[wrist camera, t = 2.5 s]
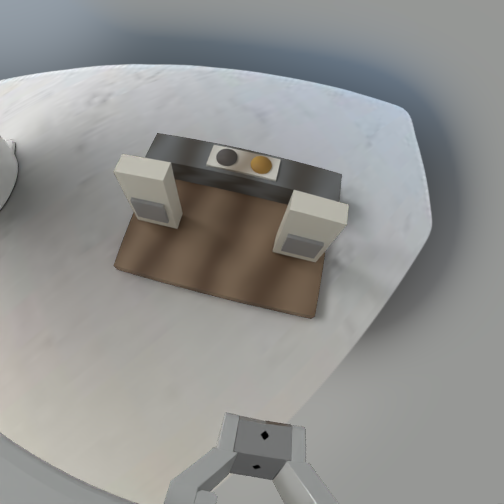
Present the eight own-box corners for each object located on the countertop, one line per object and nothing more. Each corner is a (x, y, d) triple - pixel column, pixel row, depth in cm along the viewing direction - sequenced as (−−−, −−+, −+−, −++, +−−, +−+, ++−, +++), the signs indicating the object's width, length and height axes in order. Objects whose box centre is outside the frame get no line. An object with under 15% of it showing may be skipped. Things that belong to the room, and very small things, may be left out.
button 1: (271, 255, 35) (289, 213, 26) (276, 235, 36) (293, 189, 26) (315, 265, 35) (346, 228, 26) (318, 246, 36) (348, 204, 26)
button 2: (136, 222, 35) (111, 174, 26) (143, 204, 36) (122, 154, 26) (176, 232, 35) (161, 184, 26) (182, 213, 36) (170, 162, 26)
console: (117, 269, 35) (101, 253, 30) (167, 148, 41) (161, 122, 36) (311, 318, 35) (325, 310, 30) (330, 185, 41) (343, 162, 36)
